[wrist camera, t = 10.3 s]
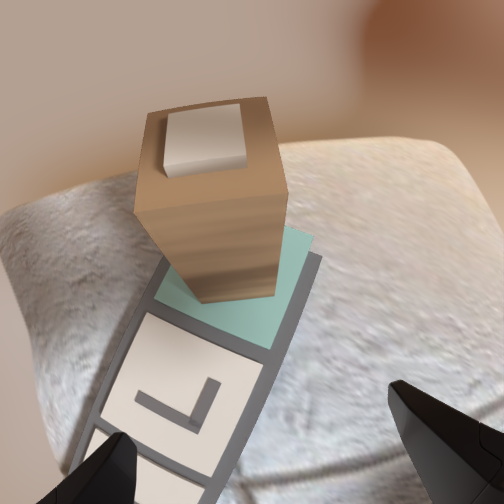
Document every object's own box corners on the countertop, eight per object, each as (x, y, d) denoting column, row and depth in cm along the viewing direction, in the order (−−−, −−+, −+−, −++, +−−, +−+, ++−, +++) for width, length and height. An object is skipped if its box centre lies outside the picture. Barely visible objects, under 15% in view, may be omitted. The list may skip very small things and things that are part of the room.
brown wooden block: (274, 296, 19) (290, 180, 8) (201, 304, 18) (125, 201, 8) (265, 230, 20) (266, 84, 10) (198, 238, 20) (143, 101, 10)
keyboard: (183, 557, 12) (177, 568, 11) (69, 491, 14) (57, 496, 13) (323, 250, 21) (328, 240, 20) (199, 206, 23) (194, 194, 22)
